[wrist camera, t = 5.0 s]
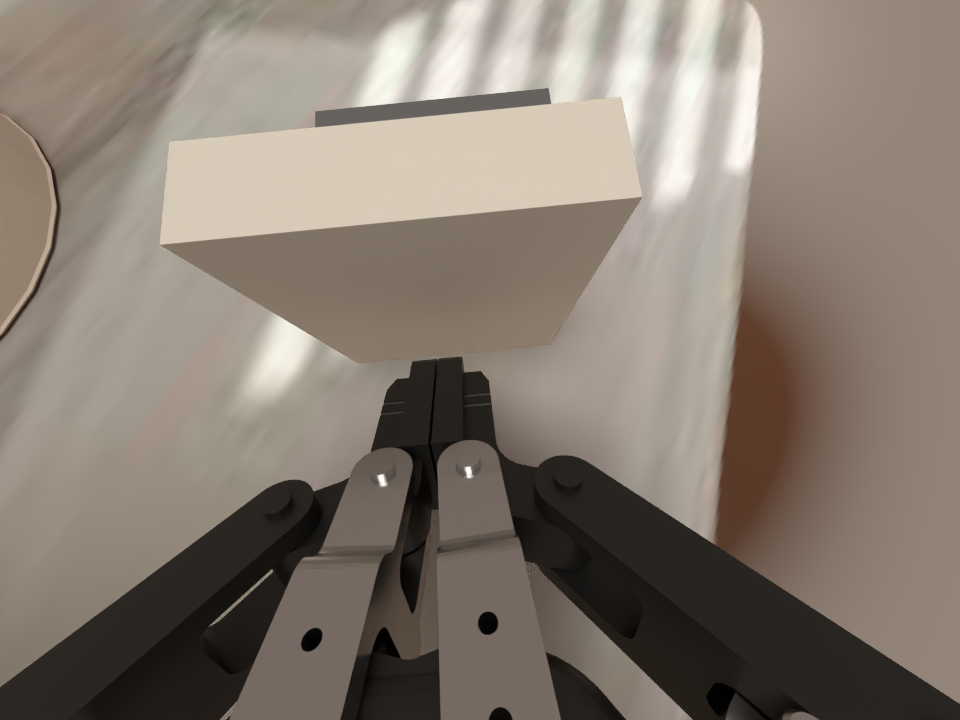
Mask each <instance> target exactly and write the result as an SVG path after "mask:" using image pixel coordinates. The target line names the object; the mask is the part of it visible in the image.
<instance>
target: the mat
mask: <svg viewBox="0 0 960 720" xmlns="http://www.w3.org/2000/svg"><path fill="white" fill-rule="evenodd" d="M546 104H551V101H550V95H549V89H548V88H546V89H536V90H526V91H516V92H506V93H496V94H486V95H476V96H466V97H456V98H446V99H436V100H426V101H416V102H406V103H396V104H386V105H376V106H366V107H356V108H346V109H336V110H326V111H316V112H315V127H325V126H335V125H345V124H356V123H366V122H376V121H386V120H396V119H406V118H416V117H426V116H436V115H446V114H456V113H466V112H476V111H486V110H496V109H506V108H516V107H526V106H536V105H546Z"/></svg>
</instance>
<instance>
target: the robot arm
mask: <svg viewBox="0 0 960 720" xmlns="http://www.w3.org/2000/svg"><path fill="white" fill-rule="evenodd" d="M433 509H439V527H440V548H438V549H437V598H438V635H439V649H437V650H435V651H432V652H430V653H428V654H425V655H423V656H420V650H421V640H420V615H421V608H422V601H423V594H424V587H425V580H426V573H427V566H428V559H429V552H430V545H431V531H430V526H431V511H432V510H433ZM525 561H527V562H531V563H535V564H537V565H538V567H539V569H540V570H541V572H542V573H543V574H544V575H545V576H546V577H547V578H548V579H549V580H550V581H551V582H552V583H553V584H554V585H555V586H556V587H557V588H559V589H560V590H561V591H562V592H563V593H564V594H565V595H566V596H567V597H568V598H569V599H570V600H571V601H572V602H573V603H574V604H575V605H576V606H577V607H578V608H579V609H580V610H581V611H582V612H583V613H584V614H585V615H586V616H587V617H588V618H589V619H590V620H591V621H592V622H593V623H594V624H595V625H596V626H597V627H599V628H600V629H601V630H602V631H603V632H604V633H605V634H606V635H607V636H608V637H609V638H610V639H611V640H612V641H613V642H614V643H615V644H616V645H617V646H618V647H619V648H620V649H621V650H622V651H623V652H624V653H625V654H626V655H627V656H628V657H629V658H630V659H631V660H632V661H633V662H634V663H635V664H636V665H638V666H639V667H640V668H641V669H642V670H643V671H644V672H645V673H646V674H647V675H648V676H649V677H650V678H651V679H652V680H653V681H654V682H655V683H656V684H657V685H658V686H659V687H660V688H661V689H662V690H663V691H664V692H665V693H666V694H667V695H668V696H669V697H670V698H671V699H672V700H673V701H674V702H675V703H676V704H678V705H679V706H680V707H681V708H682V709H683V710H684V711H685V712H686V713H687V714H688V715H689V716H690V717H691V718H692V719H693V720H960V704H959V703H957V702H956V701H954V700H953V699H951V698H950V697H948V696H947V695H945V694H943V693H942V692H940V691H939V690H937V689H936V688H934V687H933V686H931V685H930V684H928V683H927V682H925V681H923V680H922V679H920V678H918V677H917V676H916V675H914V674H912V673H911V672H910V671H908V670H906V669H905V668H903V667H902V666H900V665H899V664H897V663H896V662H894V661H893V660H891V659H889V658H888V657H886V656H885V655H883V654H882V653H880V652H879V651H877V650H876V649H874V648H873V647H871V646H870V645H868V644H866V643H865V642H863V641H862V640H860V639H859V638H857V637H856V636H854V635H853V634H851V633H849V632H848V631H846V630H845V629H843V628H842V627H840V626H839V625H837V624H836V623H834V622H833V621H831V620H829V619H828V618H826V617H825V616H823V615H822V614H820V613H819V612H817V611H816V610H814V609H813V608H811V607H809V606H808V605H806V604H805V603H803V602H802V601H800V600H799V599H797V598H796V597H794V596H793V595H791V594H789V593H788V592H786V591H785V590H783V589H782V588H780V587H779V586H777V585H776V584H774V583H773V582H771V581H769V580H768V579H766V578H765V577H763V576H762V575H760V574H759V573H757V572H756V571H754V570H753V569H751V568H749V567H748V566H746V565H745V564H743V563H741V562H740V561H739V560H737V559H736V558H734V557H733V556H731V555H730V554H728V553H726V552H725V551H723V550H722V549H720V548H719V547H717V546H716V545H714V544H713V543H711V542H710V541H708V540H706V539H705V538H703V537H702V536H700V535H699V534H697V533H696V532H694V531H693V530H691V529H690V528H688V527H686V526H685V525H683V524H682V523H680V522H679V521H677V520H676V519H674V518H673V517H671V516H670V515H668V514H666V513H665V512H663V511H662V510H660V509H659V508H657V507H656V506H654V505H653V504H651V503H650V502H648V501H646V500H645V499H643V498H642V497H640V496H639V495H637V494H636V493H634V492H633V491H631V490H630V489H628V488H626V487H625V486H623V485H622V484H620V483H619V482H617V481H616V480H614V479H613V478H611V477H610V476H608V475H606V474H605V473H603V472H602V471H600V470H599V469H597V468H596V467H594V466H593V465H591V464H590V463H588V462H586V461H584V460H582V459H580V458H577V457H573V456H555V457H552V458H549V459H547V460H545V461H544V462H542V463H541V464H540V465H539V467H538V468H537V467H531V466H525V465H521V464H517V463H515V462H513V461H511V460H509V459H507V458H506V457H505V456H504V455H503V454H502V453H501V452H500V451H499V449H498V447H497V444H496V438H495V430H494V421H493V413H492V405H491V396H490V387H489V380H488V379H487V378H486V377H485V376H484V375H483V373H482V372H481V371H477V372H467V373H464V365H463V358H462V357H453V358H442V359H438V361H437V359H432V360H422V361H413V362H412V366H411V371H410V376H409V378H405V379H396V381H395V382H394V383H393V384H392V385H391V386H390V388H389V389H388V390H387V392H386V396H385V400H384V405H383V407H382V411H381V415H380V419H379V423H378V426H377V430H376V434H375V438H374V442H373V445H372V449H371V453H369V454H367V455H366V456H364V457H363V458H362V459H361V460H360V461H359V462H358V463H357V464H356V465H355V467H354V468H353V470H352V473H351V475H350V478H348V479H346V480H344V481H342V482H339V483H337V484H334V485H331V486H328V487H325V488H323V489H320V490H317V491H314V492H313V490H312V488H311V486H310V485H309V484H308V483H306V482H304V481H301V480H288V481H283V482H280V483H277V484H275V485H273V486H271V487H269V488H267V489H266V490H264V491H263V492H261V493H260V494H259V495H257V496H256V497H255V498H253V499H252V500H251V501H249V502H248V503H247V504H245V505H244V506H243V507H241V508H240V509H239V510H237V511H236V512H235V513H233V514H232V515H230V516H229V517H228V518H226V519H225V520H224V521H222V522H221V523H220V524H218V525H217V526H216V527H214V528H213V529H212V530H210V531H209V532H208V533H206V534H205V535H204V536H202V537H201V538H200V539H198V540H197V541H196V542H194V543H193V544H192V545H190V546H189V547H188V548H186V549H185V550H184V551H182V552H181V553H180V554H178V555H177V556H176V557H174V558H173V559H172V560H170V561H169V562H168V563H166V564H165V565H163V566H162V567H161V568H159V569H158V570H157V571H155V572H154V573H153V574H151V575H150V576H149V577H147V578H146V579H145V580H143V581H142V582H141V583H139V584H138V585H137V586H135V587H134V588H133V589H131V590H130V591H129V592H127V593H126V594H125V595H123V596H122V597H121V598H119V599H118V600H117V601H115V602H114V603H113V604H111V605H110V606H109V607H107V608H106V609H105V610H103V611H102V612H101V613H99V614H98V615H96V616H95V617H94V618H92V619H91V620H90V621H88V622H87V623H86V624H84V625H83V626H82V627H80V628H79V629H78V630H76V631H75V632H74V633H72V634H71V635H70V636H68V637H67V638H66V639H64V640H63V641H62V642H60V643H59V644H58V645H56V646H55V647H54V648H52V649H51V650H50V651H48V652H47V653H46V654H44V655H43V656H42V657H40V658H39V659H38V660H36V661H35V662H34V663H32V664H31V665H29V666H28V667H27V668H25V669H24V670H23V671H21V672H20V673H19V674H17V675H16V676H15V677H13V678H12V679H11V680H9V681H8V682H7V683H5V684H4V685H3V686H1V687H0V720H220V719H221V718H222V716H223V715H224V714H225V713H226V712H227V711H228V710H229V709H230V708H231V707H232V706H233V705H234V703H235V702H236V701H237V700H238V701H237V703H236V706H235V708H234V710H233V712H232V715H231V716H230V717H229V718H228V719H227V720H626V719H625V718H624V717H623V716H622V714H621V713H620V712H619V711H618V710H617V709H616V707H615V706H614V705H613V704H612V703H611V702H610V700H609V699H608V698H607V697H606V696H605V695H604V694H603V692H602V691H601V690H600V689H599V688H598V687H597V686H596V685H595V684H594V683H593V682H592V681H591V680H589V679H588V678H587V677H586V676H585V675H584V674H583V673H581V672H580V671H579V670H577V669H576V668H575V667H573V666H572V665H570V664H569V663H567V662H565V661H564V660H562V659H560V658H558V657H556V656H554V655H551V654H549V653H546V652H545V648H544V643H543V639H542V634H541V630H540V626H539V621H538V617H537V613H536V608H535V604H534V599H533V595H532V591H531V586H530V582H529V577H528V573H527V569H526V564H525ZM271 569H272V570H273V571H274V572H273V573H272V574H271V575H269V576H268V577H267V578H266V579H265V580H264V581H263V582H262V583H261V584H260V585H258V586H257V587H256V588H255V589H254V590H253V591H252V592H251V593H250V594H249V595H247V596H246V597H245V598H244V599H243V600H242V601H241V602H240V603H239V604H238V605H237V606H235V607H234V608H233V609H232V610H231V611H230V612H229V613H228V614H227V615H226V616H224V617H223V618H222V619H221V620H220V621H219V622H217V623H216V624H214V625H212V626H210V625H211V624H212V623H213V622H214V621H215V620H216V619H217V618H218V617H219V616H220V615H221V614H222V613H224V612H225V611H226V610H227V609H228V608H229V607H230V606H231V605H232V604H233V603H235V602H236V601H237V600H238V599H239V598H240V597H241V596H242V595H243V594H245V593H246V592H247V591H248V590H249V589H250V588H251V587H252V586H253V585H255V584H256V583H257V582H258V581H259V580H260V579H261V578H262V577H263V576H264V575H266V574H267V573H268V572H269V571H270V570H271ZM209 626H210V627H209Z"/></svg>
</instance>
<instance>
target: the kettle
mask: <svg viewBox="0 0 960 720" xmlns="http://www.w3.org/2000/svg"><path fill="white" fill-rule="evenodd" d="M56 216H57V203H56V197H55V191H54V185H53V179H52V173H51V169H50V167H49V165H48V163H47V162H46V160H45V158H44V156H43V154H42V153H41V151H40V149H39V147H38V146H37V144H36V142H35V140H34V138H32V137H31V136H30V135H29V134H28V133H27V132H25V131H24V130H23V129H22V128H21V127H20V126H18V125H17V124H16V123H15V122H14V121H13V120H11V119H10V118H9V117H8V116H6V115H3V114H1V113H0V337H1V336H2V335H3V334H4V333H5V332H6V330H7V329H8V327H9V326H10V325H11V323H12V322H13V320H14V319H15V318H16V316H17V315H18V313H19V312H20V311H21V309H22V308H23V306H24V305H25V304H26V302H27V301H28V299H29V298H30V297H31V295H32V294H33V292H34V290H35V288H36V286H37V283H38V281H39V278H40V276H41V274H42V271H43V269H44V267H45V264H46V262H47V259H48V257H49V255H50V252H51V250H52V244H53V237H54V230H55V223H56Z"/></svg>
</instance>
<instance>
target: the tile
mask: <svg viewBox="0 0 960 720" xmlns="http://www.w3.org/2000/svg"><path fill="white" fill-rule="evenodd" d="M641 198H642V193H641V188H640V183H639V179H638V174H637V169H636V165H635V160H634V155H633V150H632V146H631V141H630V136H629V132H628V127H627V122H626V118H625V113H624V108H623V104H622V99H621V97H616V98H606V99H596V100H586V101H576V102H566V103H556V104H546V105H536V106H526V107H516V108H506V109H496V110H486V111H476V112H466V113H456V114H446V115H436V116H426V117H416V118H406V119H396V120H386V121H376V122H366V123H356V124H345V125H335V126H325V127H315V128H305V129H295V130H285V131H275V132H265V133H255V134H245V135H235V136H225V137H215V138H205V139H195V140H185V141H175V142H170V143H169V154H168V164H167V174H166V184H165V195H164V205H163V215H162V226H161V236H160V245H161V246H163V247H164V248H166V249H168V250H169V251H171V252H173V253H174V254H176V255H178V256H179V257H181V258H183V259H184V260H186V261H188V262H189V263H191V264H193V265H194V266H196V267H198V268H199V269H201V270H203V271H204V272H206V273H208V274H209V275H211V276H213V277H214V278H216V279H218V280H219V281H221V282H223V283H224V284H226V285H228V286H230V287H231V288H233V289H235V290H236V291H238V292H240V293H241V294H243V295H245V296H246V297H248V298H250V299H251V300H253V301H255V302H256V303H258V304H260V305H261V306H263V307H265V308H266V309H268V310H270V311H271V312H273V313H275V314H276V315H278V316H280V317H281V318H283V319H285V320H286V321H288V322H290V323H291V324H293V325H295V326H296V327H298V328H300V329H302V330H303V331H305V332H307V333H308V334H310V335H312V336H313V337H315V338H317V339H318V340H320V341H322V342H323V343H325V344H327V345H328V346H330V347H332V348H333V349H335V350H337V351H338V352H340V353H342V354H343V355H345V356H347V357H348V358H350V359H352V360H353V361H355V362H357V363H366V362H376V361H386V360H397V359H407V358H417V357H427V356H437V355H447V354H458V353H468V352H478V351H488V350H498V349H509V348H519V347H529V346H539V345H549V344H550V343H551V342H552V340H553V339H554V337H555V335H556V334H557V332H558V331H559V329H560V327H561V326H562V324H563V323H564V321H565V319H566V318H567V316H568V315H569V313H570V312H571V310H572V308H573V307H574V305H575V304H576V302H577V300H578V299H579V297H580V296H581V294H582V292H583V291H584V289H585V288H586V286H587V284H588V283H589V281H590V280H591V278H592V276H593V275H594V273H595V272H596V270H597V268H598V267H599V265H600V264H601V262H602V261H603V259H604V257H605V256H606V254H607V253H608V251H609V249H610V248H611V246H612V245H613V243H614V241H615V240H616V238H617V237H618V235H619V233H620V232H621V230H622V229H623V227H624V225H625V224H626V222H627V221H628V219H629V217H630V216H631V214H632V213H633V211H634V210H635V208H636V206H637V205H638V203H639V202H640V200H641Z"/></svg>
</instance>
